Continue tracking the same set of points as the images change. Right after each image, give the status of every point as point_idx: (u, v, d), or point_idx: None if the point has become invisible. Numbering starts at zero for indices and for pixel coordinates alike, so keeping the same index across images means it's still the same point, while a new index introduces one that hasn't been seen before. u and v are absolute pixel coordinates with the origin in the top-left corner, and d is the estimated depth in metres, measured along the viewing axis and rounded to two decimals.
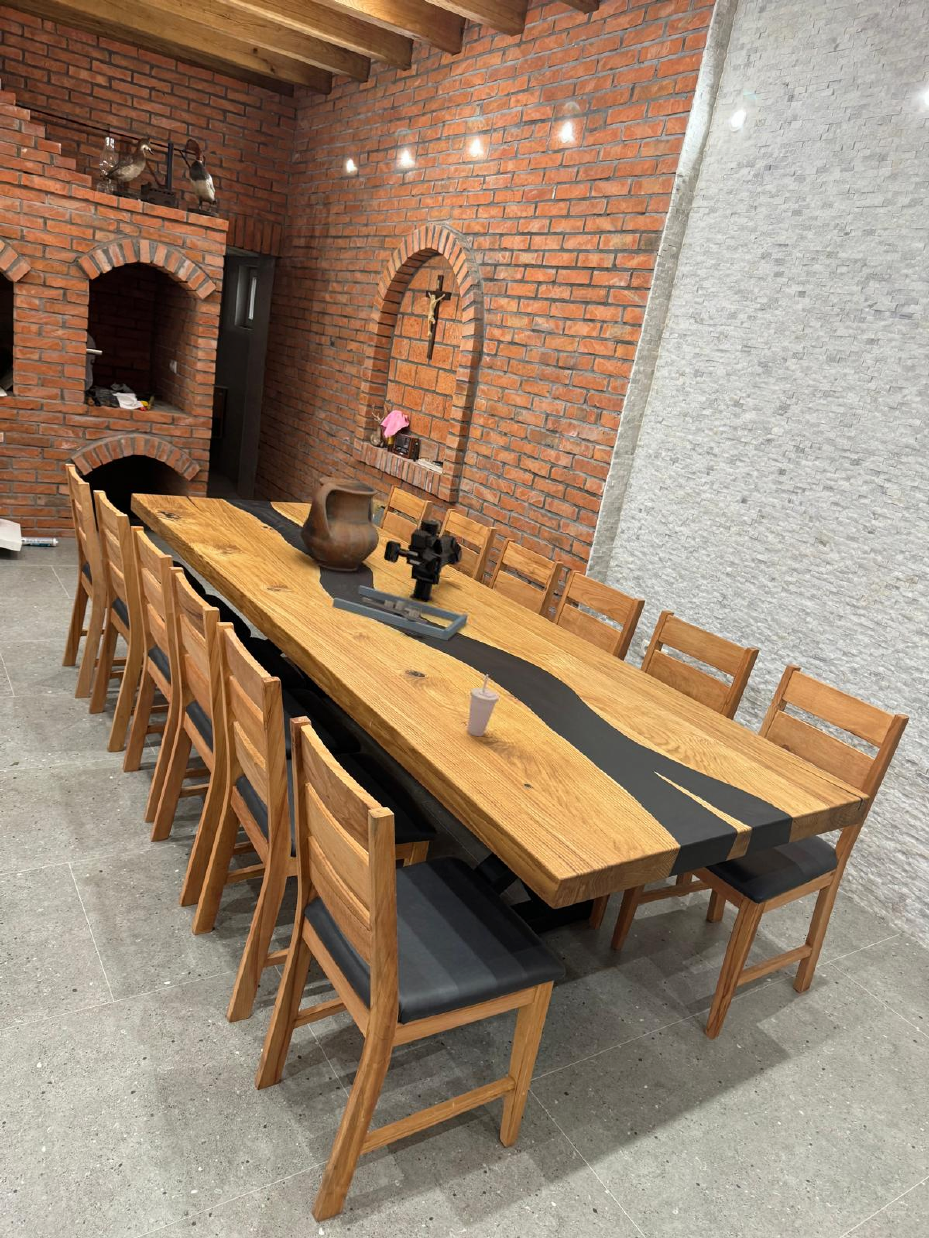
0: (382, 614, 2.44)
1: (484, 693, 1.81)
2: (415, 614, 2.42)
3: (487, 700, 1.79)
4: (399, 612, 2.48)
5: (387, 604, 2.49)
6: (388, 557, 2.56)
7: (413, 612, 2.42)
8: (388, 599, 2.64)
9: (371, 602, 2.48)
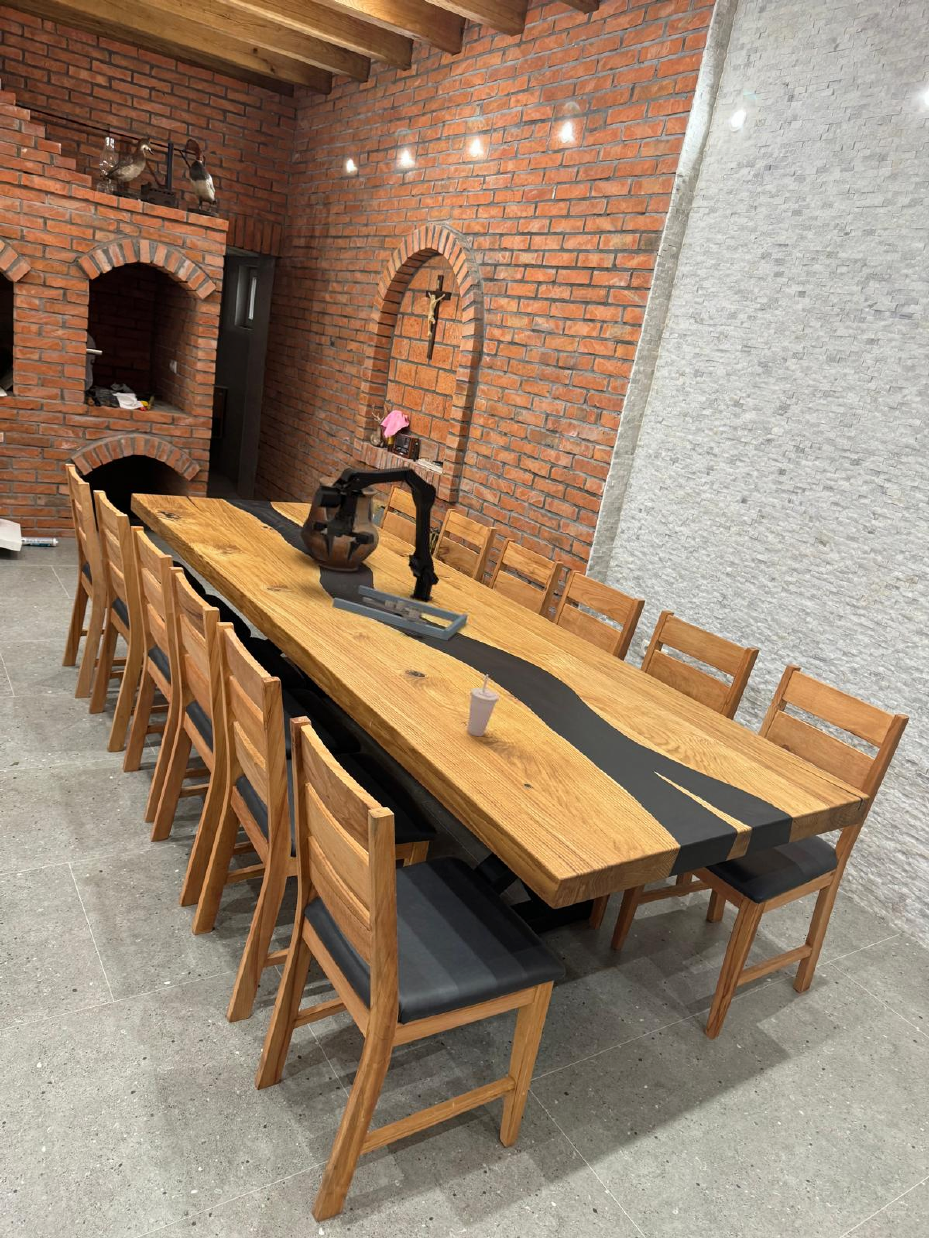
0: (382, 614, 2.44)
1: (484, 693, 1.81)
2: (415, 614, 2.42)
3: (487, 700, 1.79)
4: (399, 612, 2.48)
5: (388, 604, 2.50)
6: None
7: (413, 612, 2.42)
8: (388, 599, 2.64)
9: (371, 602, 2.48)
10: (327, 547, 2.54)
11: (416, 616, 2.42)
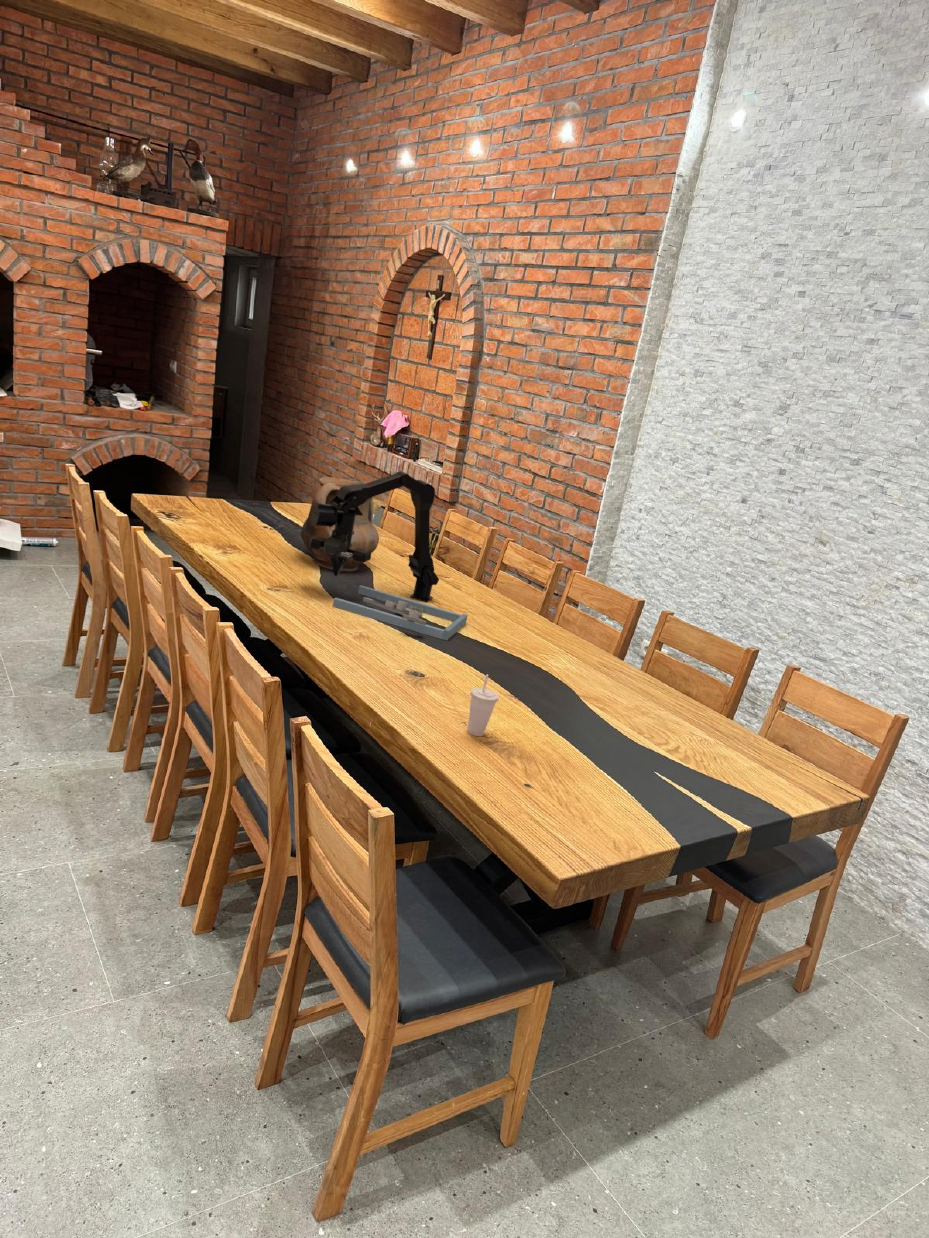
0: (382, 614, 2.44)
1: (484, 693, 1.81)
2: (415, 614, 2.42)
3: (487, 700, 1.79)
4: (400, 612, 2.48)
5: (388, 604, 2.50)
6: None
7: (413, 612, 2.42)
8: (388, 599, 2.64)
9: (372, 602, 2.48)
10: (333, 567, 2.55)
11: (416, 616, 2.42)
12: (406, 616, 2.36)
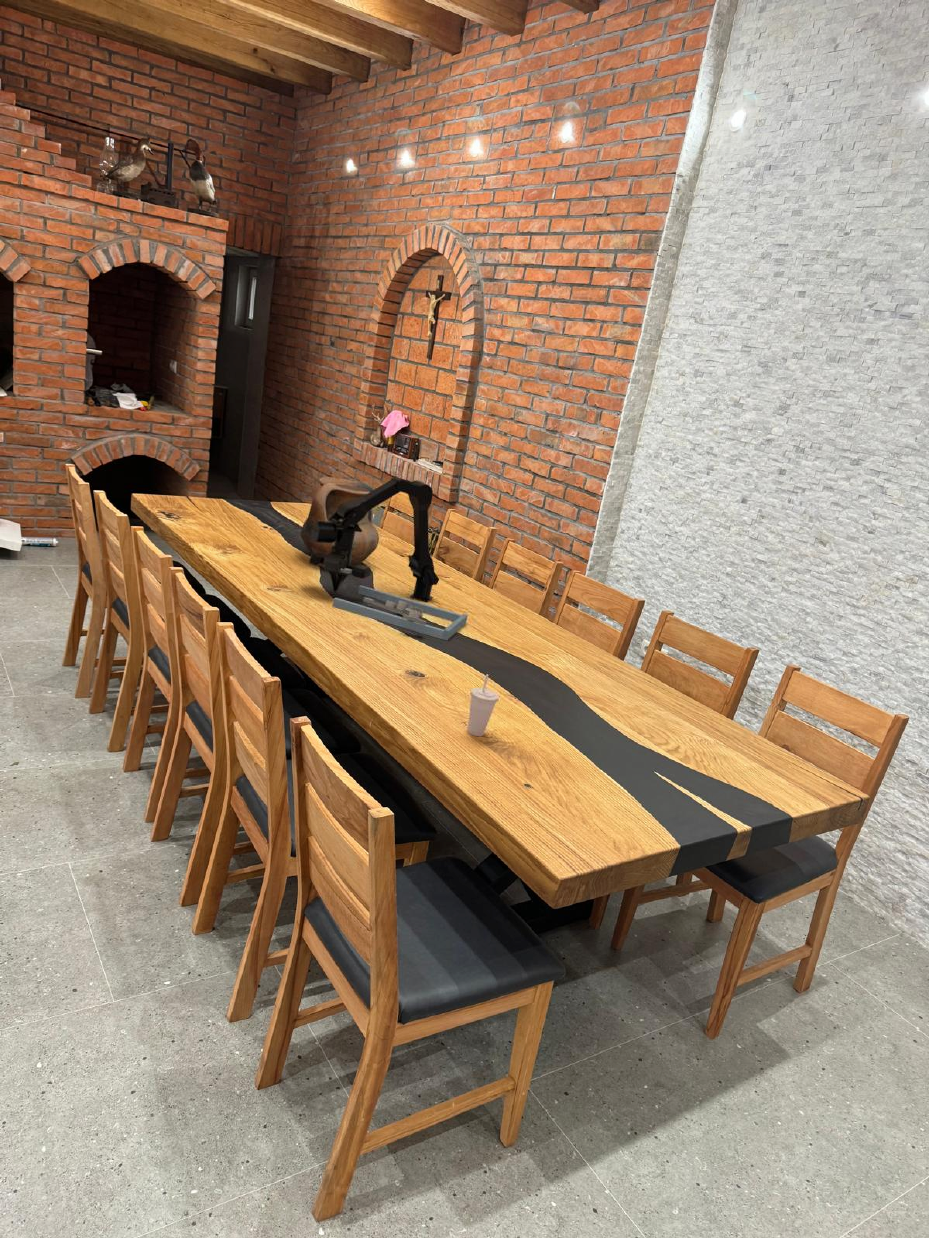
0: (382, 614, 2.44)
1: (484, 693, 1.81)
2: (415, 614, 2.42)
3: (487, 700, 1.79)
4: (400, 612, 2.48)
5: (388, 604, 2.50)
6: None
7: (413, 612, 2.42)
8: (388, 599, 2.64)
9: (372, 602, 2.49)
10: (333, 583, 2.57)
11: (416, 616, 2.42)
12: (406, 616, 2.36)
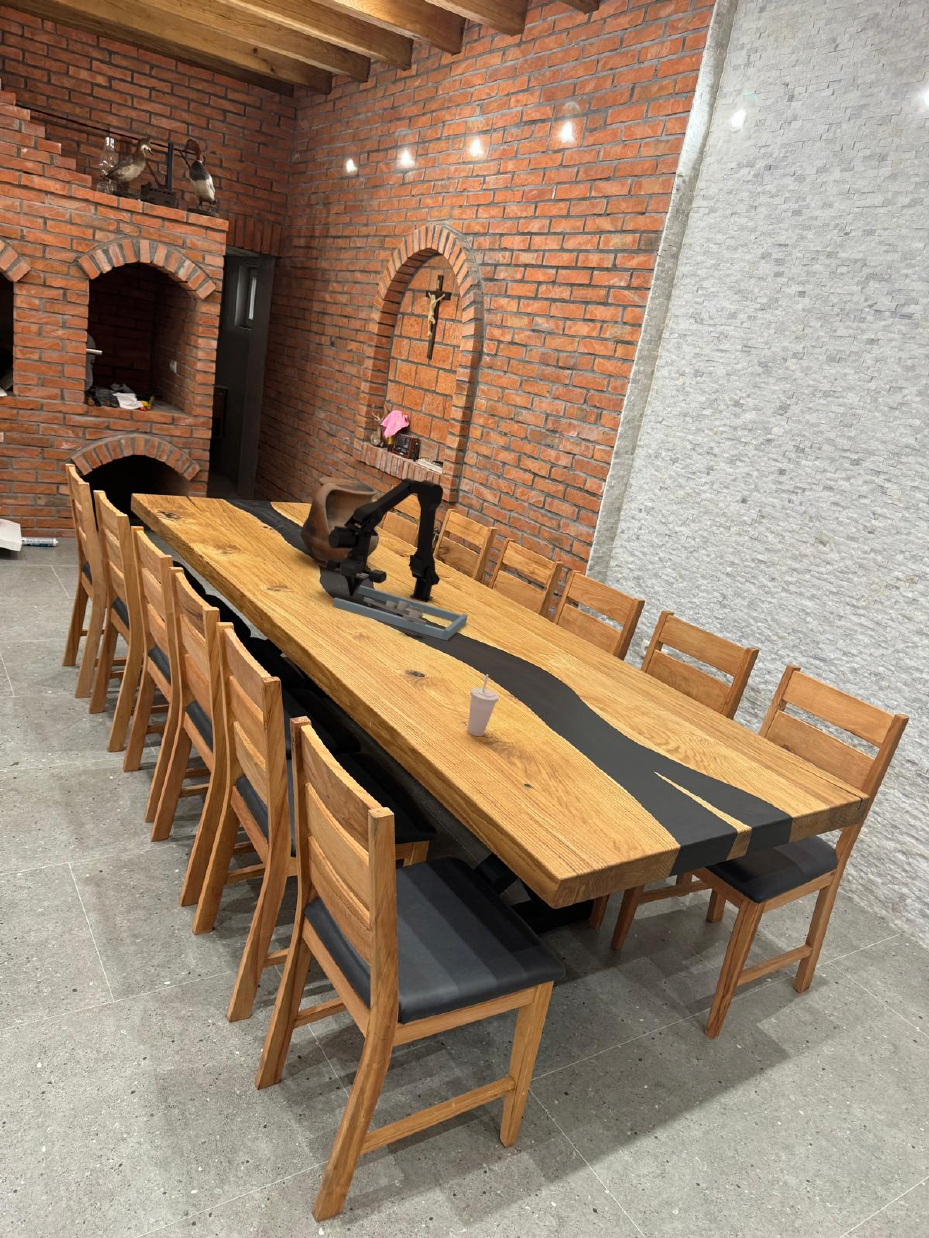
0: (382, 614, 2.44)
1: (484, 693, 1.81)
2: (415, 614, 2.42)
3: (487, 700, 1.79)
4: (400, 612, 2.48)
5: (388, 604, 2.50)
6: None
7: (413, 612, 2.42)
8: (388, 599, 2.64)
9: (372, 602, 2.49)
10: (349, 588, 2.56)
11: (416, 616, 2.42)
12: (406, 616, 2.36)
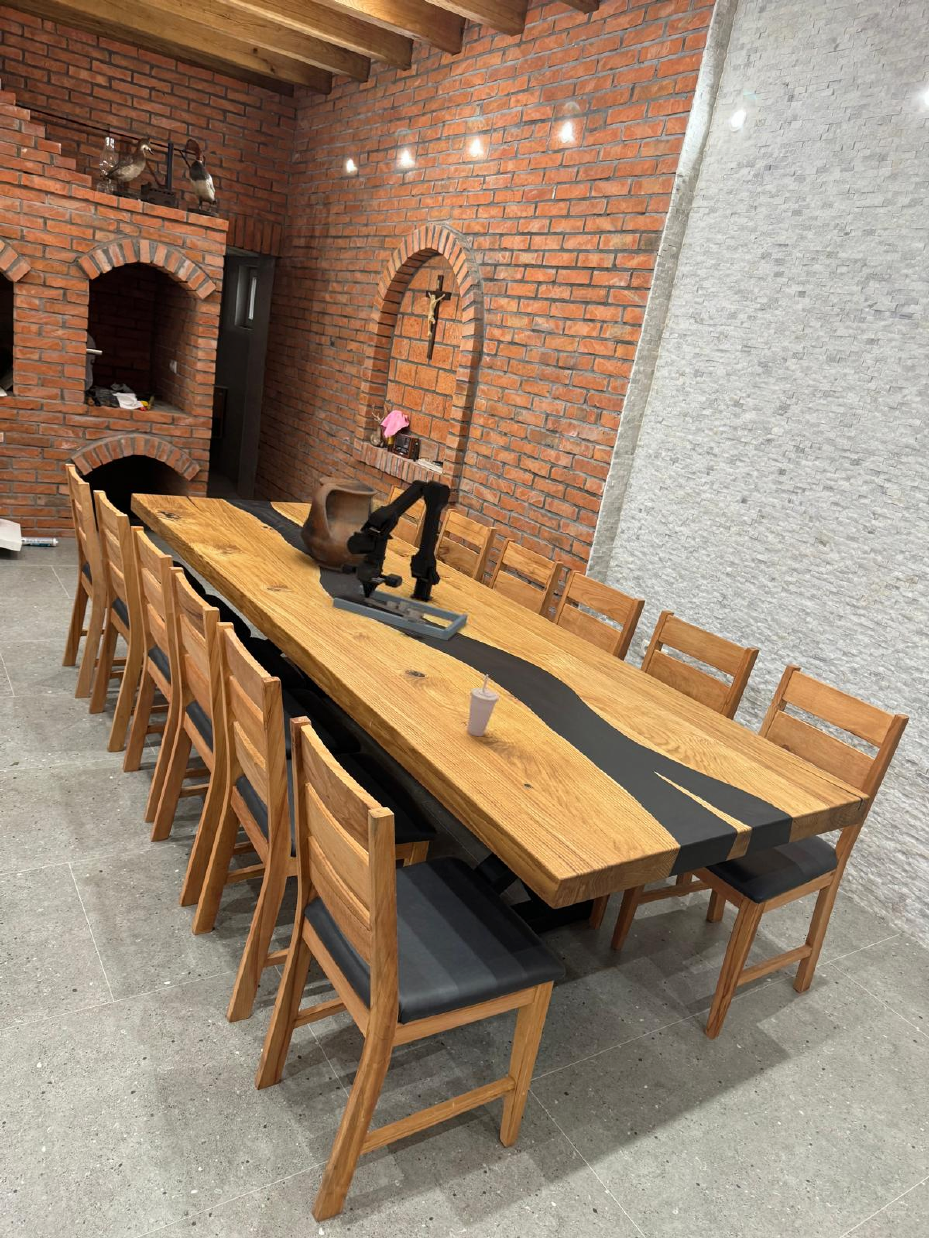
0: (382, 614, 2.44)
1: (484, 693, 1.81)
2: (415, 615, 2.42)
3: (487, 700, 1.79)
4: (401, 613, 2.48)
5: (389, 604, 2.50)
6: None
7: (413, 613, 2.42)
8: (388, 599, 2.64)
9: (373, 602, 2.49)
10: (365, 592, 2.55)
11: (416, 616, 2.42)
12: (405, 616, 2.35)
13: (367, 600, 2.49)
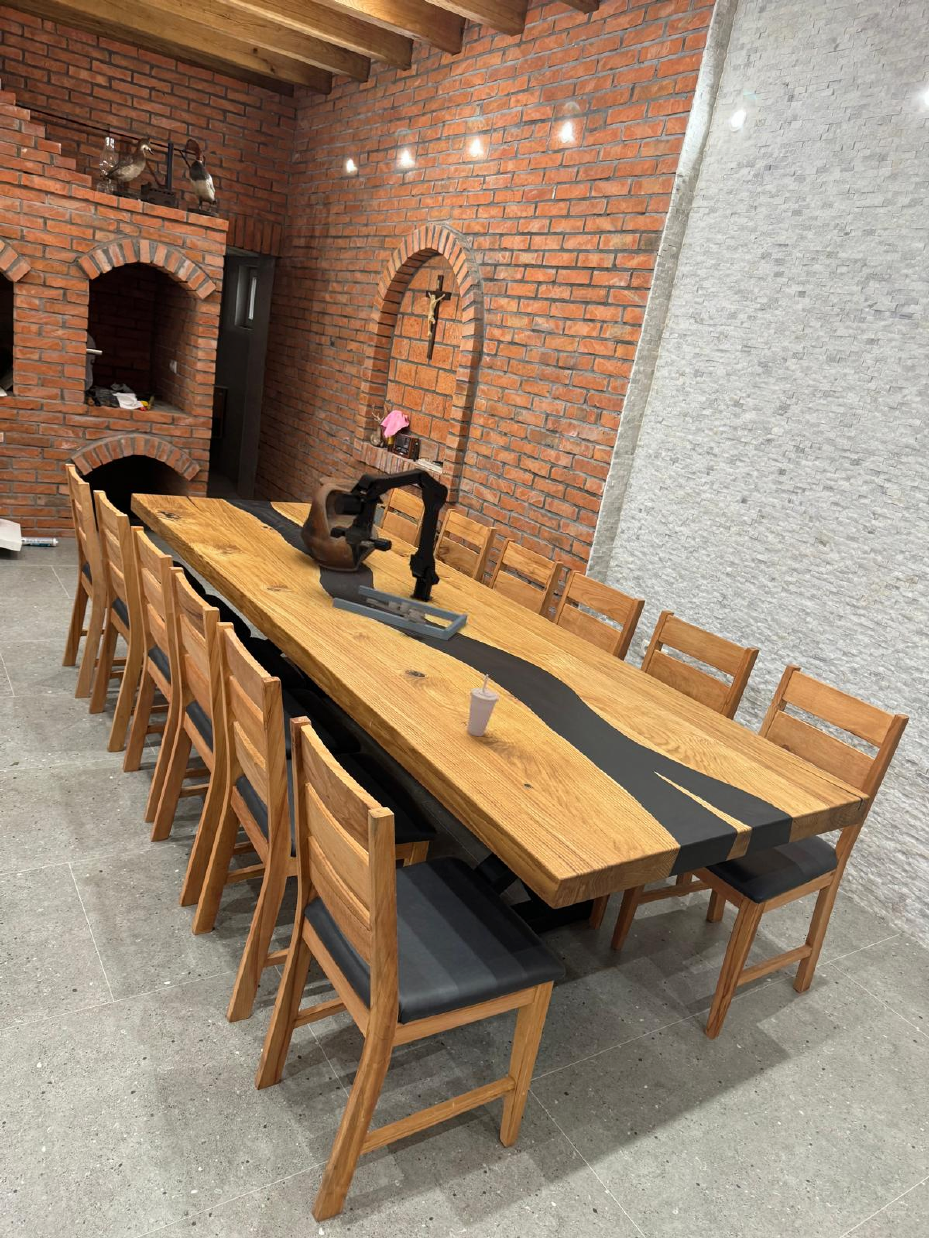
0: (382, 614, 2.44)
1: (484, 693, 1.81)
2: (416, 615, 2.41)
3: (487, 700, 1.79)
4: (402, 613, 2.48)
5: (391, 605, 2.50)
6: None
7: (414, 613, 2.41)
8: (388, 599, 2.64)
9: (375, 603, 2.49)
10: (354, 556, 2.52)
11: (417, 616, 2.42)
12: (405, 616, 2.35)
13: (369, 600, 2.49)
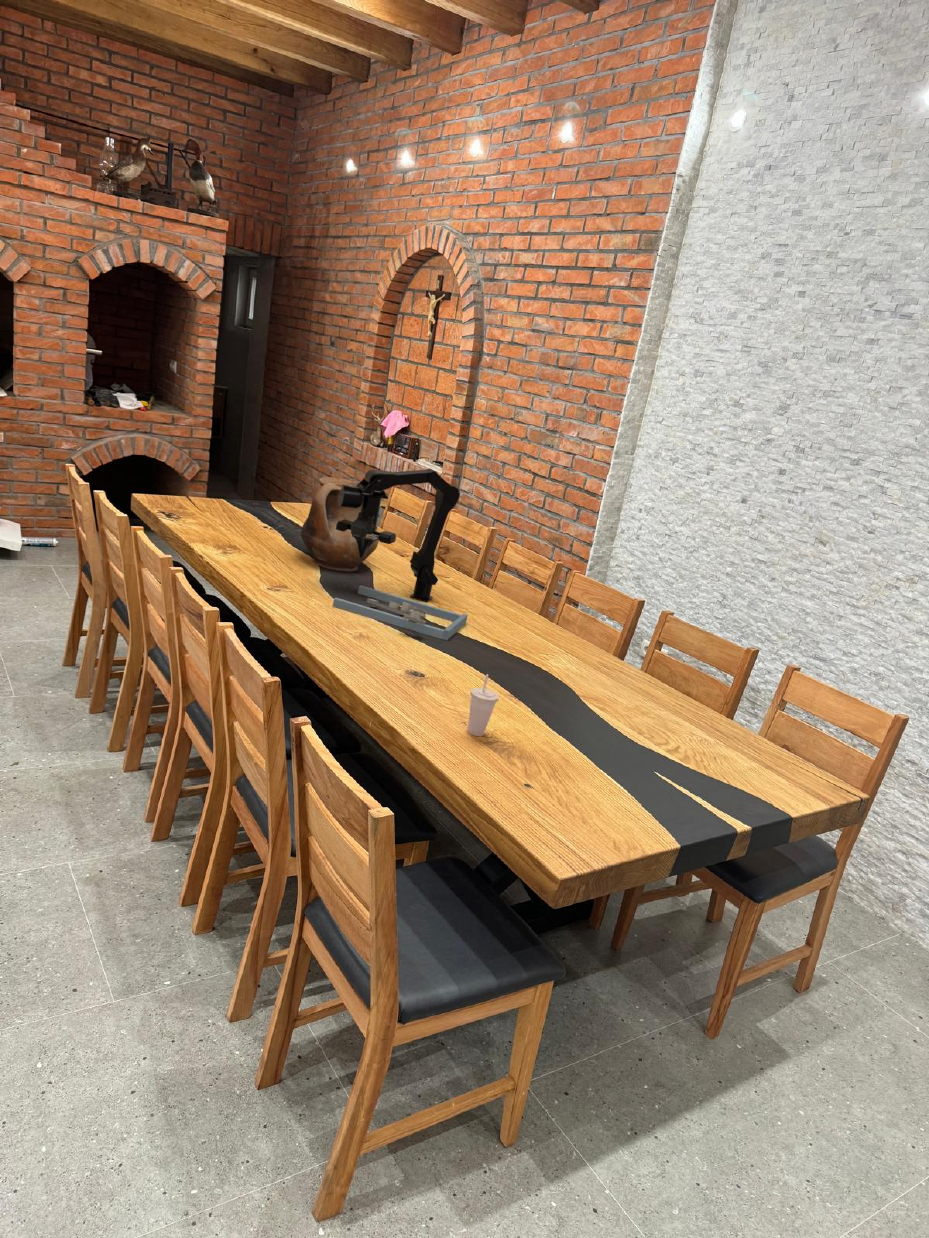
0: (382, 614, 2.44)
1: (484, 693, 1.81)
2: (416, 615, 2.41)
3: (487, 700, 1.79)
4: (402, 613, 2.48)
5: (391, 605, 2.50)
6: None
7: (414, 613, 2.41)
8: (388, 599, 2.64)
9: (375, 603, 2.49)
10: (359, 549, 2.61)
11: (417, 616, 2.42)
12: (405, 616, 2.35)
13: (369, 601, 2.49)
